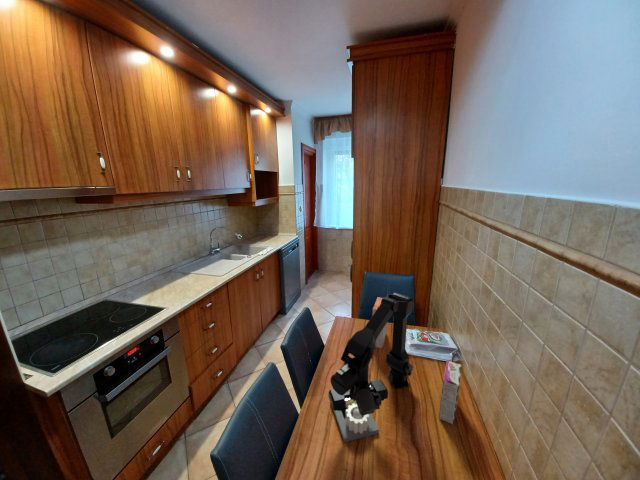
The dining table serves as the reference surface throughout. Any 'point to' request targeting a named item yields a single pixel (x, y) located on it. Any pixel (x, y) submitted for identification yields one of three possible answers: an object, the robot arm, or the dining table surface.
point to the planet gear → (356, 420)
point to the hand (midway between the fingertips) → (357, 414)
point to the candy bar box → (450, 392)
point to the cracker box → (382, 335)
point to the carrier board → (344, 429)
